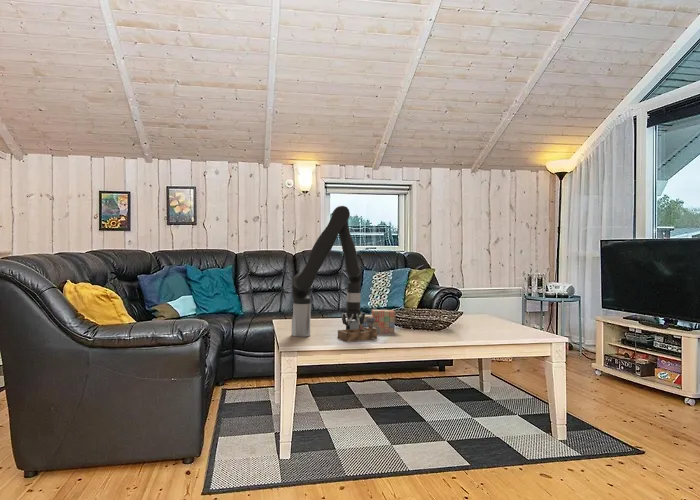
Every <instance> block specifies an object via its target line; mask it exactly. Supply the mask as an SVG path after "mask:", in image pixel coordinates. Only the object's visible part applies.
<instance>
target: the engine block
mask: <svg viewBox="0 0 700 500" xmlns="http://www.w3.org/2000/svg"><path fill="white" fill-rule="evenodd" d="M349 326H350V329H359V323H358V322H357V321H355V320H352V321H351V322H350V325H349Z"/></svg>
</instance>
